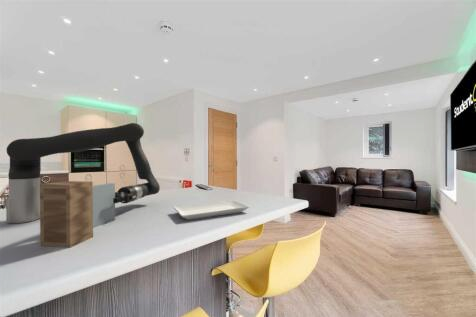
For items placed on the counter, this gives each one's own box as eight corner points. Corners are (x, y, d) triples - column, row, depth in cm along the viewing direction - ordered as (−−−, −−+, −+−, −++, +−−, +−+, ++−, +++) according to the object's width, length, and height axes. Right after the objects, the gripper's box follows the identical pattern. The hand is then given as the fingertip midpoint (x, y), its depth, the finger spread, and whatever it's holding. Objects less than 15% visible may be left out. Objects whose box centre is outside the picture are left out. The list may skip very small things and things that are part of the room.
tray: (250, 213, 99) (250, 206, 98) (181, 223, 84) (181, 215, 84) (233, 206, 113) (233, 199, 113) (172, 213, 99) (172, 206, 99)
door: (91, 228, 77) (91, 187, 77) (84, 228, 78) (83, 187, 78) (115, 219, 89) (114, 183, 89) (108, 218, 90) (108, 183, 89)
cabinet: (70, 247, 61) (69, 184, 61) (35, 245, 63) (34, 184, 63) (103, 232, 74) (103, 180, 74) (73, 230, 75) (73, 179, 75)
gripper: (116, 185, 102) (88, 190, 86) (144, 186, 100) (120, 191, 84) (116, 201, 102) (88, 209, 86) (144, 202, 100) (120, 210, 84)
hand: (104, 200), depth 85 cm, fingers open, 8 cm apart
